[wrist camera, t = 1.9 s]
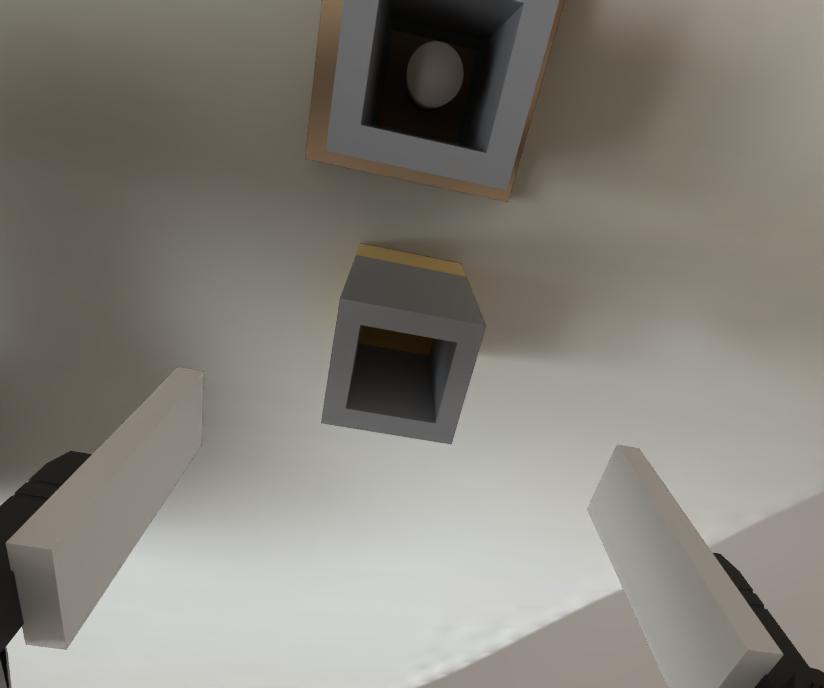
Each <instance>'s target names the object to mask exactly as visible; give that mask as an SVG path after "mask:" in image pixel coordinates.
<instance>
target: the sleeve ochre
mask: <svg viewBox="0 0 824 688" xmlns="http://www.w3.org/2000/svg"><path fill="white" fill-rule="evenodd" d="M485 327H486V325H485V322H484V320H483V317H482V315H481V312H480V310H479V307H478V305H477V302H476V300H475V297H474V295H473V292H472V290H471V287H470V285H469V282H468V280H467V277H466V275H465V272H464V270H463V267H462V265H461V263H456V262H451V261H446V260H441V259H436V258H431V257H426V256H421V255H416V254H411V253H406V252H401V251H396V250H391V249H386V248H381V247H376V246H371V245H366V244H360V247H359V249H358V252H357V255H356V257H355V260H354V263H353V265H352V268H351V271H350V273H349V276H348V279H347V281H346V284H345V286H344V289H343V292H342V294H341V297H340V302H339V308H338V315H337V322H336V328H335V335H334V341H333V348H332V355H331V361H330V368H329V374H328V381H327V388H326V394H325V401H324V408H323V414H322V421H321V423H324V424H330V425H336V426H342V427H348V428H354V429H361V430H367V431H373V432H379V433H385V434H391V435H397V436H403V437H410V438H416V439H422V440H428V441H434V442H440V443H446V444H452V441H453V437H454V434H455V430H456V427H457V424H458V420H459V417H460V413H461V410H462V406H463V403H464V399H465V396H466V393H467V389H468V386H469V382H470V379H471V375H472V372H473V369H474V365H475V362H476V358H477V355H478V351H479V348H480V345H481V341H482V338H483V334H484V331H485Z"/></svg>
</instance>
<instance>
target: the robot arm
mask: <svg viewBox="0 0 824 688" xmlns="http://www.w3.org/2000/svg"><path fill="white" fill-rule="evenodd" d="M203 380H204V371H198V370H193V369H187V368H181V367H177V368H176V369H175V370H174V371H173V372H172V373H171V374H170V375H169V376H168V377H167V378H166V379H165V380H164V381H163V382H162V383H161V384H160V385H159V386H158V388H157V389H156V390H155V391H154V392H153V393H152V394H151V395H150V396H149V397H148V398H147V399H146V400H145V401H144V402H143V403H142V404H141V405H140V406H139V407H138V408H137V409H136V410H135V411H134V412H133V413H132V414H131V415H130V416H129V417H128V418H127V419H126V420H125V421H124V422H123V423H122V424H121V425H120V426H119V427H118V428H117V429H116V430H115V432H114V433H113V434H112V435H111V436H110V437H109V438H108V439H107V440H106V441H105V442H104V443H103V444H102V445H101V446H100V447H99V448H98V449H97V450H96V451H95V452H94V453H93V454H86V453H80V452H74V451H70V452H68V453H66V454H64V455H62V456H60V457H58V458H56V459H54V460H52V461H50V462H48V463H47V464H46V465H44V466H43V467H42V468H41V469H40V470H39V471H38V472H37V473H36V474H35V475H34V476H33V477H31V478H30V479H29V482H28V483H25V484H24V485H23V486H22V487H21V488H19V489H18V490H17V491H16V492H15V495H14V496H11V497H10V498H9V499H8V500H6V501H5V502H4V503H3V504H2V505H1V506H0V688H11V680H10V670H9V661H8V653H7V648H6V646H7V644H8V643H9V642H10V641H11V639H12V638H13V637H14V635H15V634H16V633H17V632H18V630H19V629H20V628H21V626H22V628H23V633H24V638H25V643H26V645H33V646H41V647H49V648H57V649H64V650H66V649H67V648H68V646H69V645H70V643H71V642H72V640H73V639H74V637H75V636H76V634H77V633H78V631H79V630H80V628H81V627H82V625H83V624H84V622H85V621H86V619H87V618H88V616H89V615H90V613H91V612H92V610H93V609H94V607H95V606H96V604H97V603H98V601H99V600H100V598H101V597H102V595H103V594H104V592H105V591H106V589H107V588H108V586H109V585H110V583H111V582H112V580H113V579H114V577H115V575H116V574H117V572H118V571H119V569H120V568H121V566H122V565H123V563H124V562H125V560H126V559H127V557H128V556H129V554H130V553H131V551H132V550H133V548H134V547H135V545H136V544H137V542H138V541H139V539H140V538H141V536H142V535H143V533H144V532H145V530H146V529H147V527H148V526H149V524H150V523H151V521H152V520H153V518H154V517H155V515H156V514H157V512H158V511H159V509H160V508H161V506H162V505H163V503H164V501H165V500H166V498H167V497H168V495H169V494H170V492H171V491H172V489H173V488H174V486H175V485H176V483H177V482H178V480H179V479H180V477H181V476H182V474H183V473H184V471H185V470H186V468H187V467H188V465H189V464H190V462H191V461H192V459H193V458H194V456H195V455H196V453H197V452H198V450H199V449H200V447H201V446H202V415H203ZM587 510H588V512H589V514H590V517H591V519H592V521H593V523H594V525H595V528H596V530H597V532H598V534H599V536H600V539H601V541H602V543H603V545H604V547H605V550H606V552H607V554H608V556H609V558H610V561H611V563H612V565H613V567H614V569H615V572H616V574H617V576H618V578H619V580H620V583H621V585H622V587H623V589H624V591H625V593H626V596H627V598H628V600H629V602H630V605H631V607H632V609H633V611H634V613H635V616H636V618H637V620H638V622H639V624H640V627H641V629H642V631H643V633H644V635H645V638H646V640H647V642H648V644H649V647H650V649H651V651H652V653H653V655H654V658H655V660H656V662H657V664H658V666H659V669H660V671H661V673H662V675H663V677H664V679H665V681H666V684H667V686H668V688H824V672H822V671H820V670H818V669H813V668H810V667H809V666H808V664H807V663H806V662H805V660H804V659H803V658H802V656H801V655H800V654H799V652H798V651H797V650H796V648H795V647H794V645H793V644H792V643H791V641H790V640H789V639H788V637H787V636H786V634H785V633H784V632H783V630H782V629H781V628H780V626H779V625H778V623H777V622H776V621H775V619H774V618H773V617H772V615H771V614H770V613H769V611H768V610H767V609H764V604H763V603H762V602H761V600H760V599H759V598H758V596H757V595H756V594H755V593H753V589H752V588H751V587H750V585H749V584H748V583H747V581H746V580H745V579H744V577H743V576H742V574H741V573H740V572H739V571H738V570H737V569H736V568H735V567H734V566H733V565H732V564H731V563H730V562H729V561H728V560H726V559H725V558H724V557H723V556H722V555H721V554H718V553H712V552H711V550H710V549H709V547H708V546H707V544H706V543H705V542H704V540H703V539H702V537H701V536H700V534H699V533H698V532H697V530H696V529H695V527H694V526H693V524H692V523H691V522H690V520H689V519H688V517H687V516H686V514H685V513H684V512H683V510H682V509H681V507H680V506H679V504H678V503H677V502H676V500H675V499H674V497H673V496H672V495H671V493H670V492H669V490H668V489H667V487H666V486H665V485H664V483H663V482H662V480H661V479H660V477H659V476H658V475H657V473H656V472H655V470H654V469H653V467H652V466H651V465H650V463H649V462H648V460H647V459H646V457H645V456H644V455H643V453H642V452H641V450H640V449H639V448H633V447H627V446H622V445H617V446H616V448H615V450H614V452H613V454H612V456H611V459H610V461H609V463H608V465H607V467H606V469H605V471H604V474H603V476H602V478H601V480H600V482H599V484H598V486H597V489H596V491H595V493H594V495H593V497H592V499H591V501H590V504H589V506H588V508H587Z"/></svg>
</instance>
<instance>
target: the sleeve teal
mask: <svg viewBox="0 0 824 688" xmlns="http://www.w3.org/2000/svg"><path fill="white" fill-rule="evenodd" d="M558 3H559V0H344V5H343V13H342V22H341V30H340V38H339V46H338V54H337V63H336V71H335V79H334V87H333V96H332V104H331V112H330V120H329V128H328V137H327V145H326V151H329V152H333V153H338V154H342V155H347V156H352V157H356V158H361V159H365V160H370V161H375V162H379V163H384V164H388V165H393V166H398V167H402V168H407V169H411V170H416V171H421V172H425V173H430V174H434V175H439V176H444V177H448V178H453V179H457V180H462V181H467V182H471V183H476V184H480V185H485V186H490V187H494V188H499V189H503V190H507V188H508V185H509V181H510V177H511V174H512V170H513V166H514V163H515V159H516V156H517V152H518V148H519V145H520V141H521V137H522V134H523V130H524V127H525V123H526V119H527V116H528V112H529V109H530V105H531V101H532V98H533V94H534V90H535V87H536V83H537V80H538V76H539V72H540V69H541V65H542V61H543V58H544V54H545V51H546V47H547V43H548V40H549V36H550V32H551V29H552V25H553V22H554V18H555V14H556V11H557V7H558ZM392 30H396V31H401V32H405V33H409V34H413V35H417V36H421V37H425V38H429V39H433V40H437V41H441V42H445V43H450V44H454V45H458V46H462V47H466V48H470V49H474V50H478V52H477V57H476V61H475V66H474V70H473V74H472V79H471V83H470V88H469V92H468V97H467V101H466V105H465V110H464V114H463V119H462V123H461V128H460V132H459V136H458V141H457V143H456V142H452V141H447V140H443V139H438V138H434V137H429V136H425V135H420V134H416V133H412V132H407V131H403V130H398V129H394V128H389V127H385V126H380V125H377V123H378V117H379V111H380V104H381V98H382V92H383V86H384V79H385V73H386V67H387V60H388V54H389V48H390V42H391V35H392Z"/></svg>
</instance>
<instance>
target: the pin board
mask: <svg viewBox="0 0 824 688" xmlns="http://www.w3.org/2000/svg"><path fill="white" fill-rule="evenodd" d="M563 4H564V0H559V3H558V7H557V11H556V14H555V18H554V22H553V25H552V29H551V32H550V36H549V40H548V43H547V47H546V51H545V54H544V58H543V61H542V65H541V69H540V72H539V76H538V80H537V83H536V87H535V90H534V94H533V98H532V101H531V105H530V109H529V112H528V116H527V119H526V123H525V127H524V130H523V134H522V137H521V141H520V145H519V148H518V152H517V156H516V159H515V163H514V166H513V170H512V174H511V177H510V181H509V185H508V188H507V190H503V189H499V188H494V187H490V186H485V185H480V184H476V183H471V182H467V181H462V180H457V179H453V178H448V177H444V176H439V175H434V174H430V173H425V172H421V171H416V170H411V169H407V168H402V167H398V166H393V165H388V164H384V163H379V162H375V161H370V160H365V159H361V158H356V157H352V156H347V155H342V154H338V153H333V152H329V151H326V145H327V137H328V128H329V120H330V112H331V104H332V96H333V87H334V79H335V71H336V63H337V54H338V46H339V38H340V30H341V22H342V13H343V5H344V0H322V6H321V15H320V25H319V34H318V44H317V53H316V62H315V72H314V81H313V91H312V100H311V109H310V119H309V128H308V138H307V147H306V157H305V159H309V160H314V161H318V162H323V163H328V164H332V165H337V166H342V167H346V168H351V169H356V170H360V171H365V172H370V173H374V174H379V175H384V176H388V177H393V178H397V179H402V180H407V181H411V182H416V183H421V184H425V185H430V186H435V187H439V188H444V189H449V190H453V191H458V192H463V193H467V194H472V195H477V196H481V197H486V198H490V199H495V200H500V201H504V202H508V200H509V197H510V193H511V190H512V186H513V183H514V179H515V175H516V172H517V168H518V165H519V161H520V157H521V154H522V150H523V147H524V143H525V140H526V136H527V132H528V129H529V125H530V122H531V118H532V115H533V111H534V107H535V104H536V100H537V97H538V93H539V90H540V86H541V82H542V79H543V75H544V72H545V68H546V65H547V61H548V57H549V54H550V50H551V47H552V43H553V40H554V36H555V32H556V29H557V25H558V22H559V18H560V15H561V11H562V7H563ZM477 52H478V50H474V49H470V48H466V47H462V46H458V45H454V44H450V43H445V42H441V41H437V40H433V39H429V38H425V37H421V36H417V35H413V34H409V33H405V32H401V31H396V30H392V35H391V42H390V48H389V54H388V60H387V67H386V73H385V79H384V86H383V92H382V98H381V104H380V111H379V117H378V123H377V125H380V126H385V127H389V128H394V129H398V130H403V131H407V132H412V133H416V134H420V135H425V136H429V137H434V138H438V139H443V140H447V141H452V142H456V143H457V141H458V136H459V132H460V128H461V123H462V119H463V114H464V110H465V105H466V101H467V97H468V92H469V88H470V83H471V79H472V74H473V70H474V66H475V61H476V57H477Z"/></svg>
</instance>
